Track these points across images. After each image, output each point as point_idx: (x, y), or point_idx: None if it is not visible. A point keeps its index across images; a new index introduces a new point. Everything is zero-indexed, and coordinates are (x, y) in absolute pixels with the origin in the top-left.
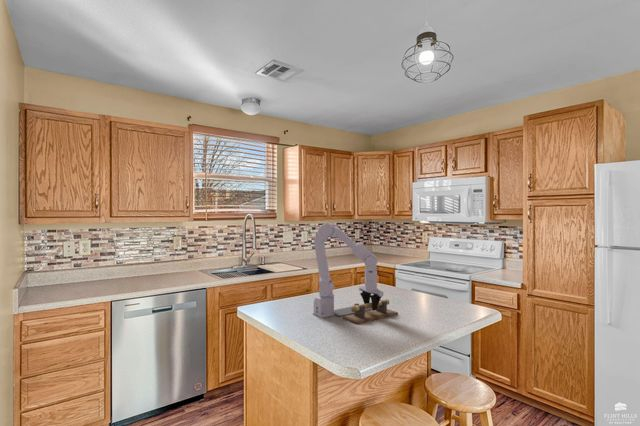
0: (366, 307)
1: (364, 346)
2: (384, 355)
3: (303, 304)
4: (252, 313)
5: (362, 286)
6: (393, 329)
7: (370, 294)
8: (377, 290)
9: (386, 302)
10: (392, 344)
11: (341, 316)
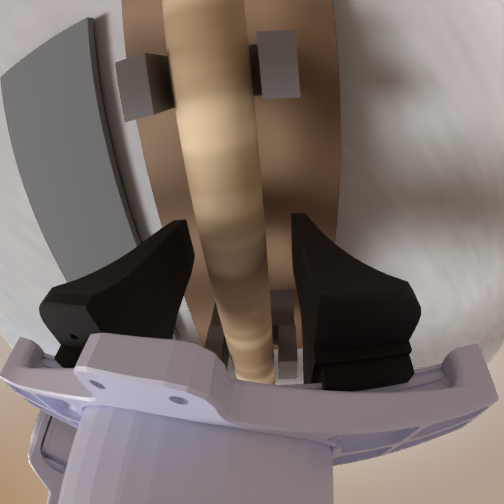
0: (270, 315)
1: None
2: (487, 358)
3: (18, 321)
4: None
5: (8, 382)
6: (478, 243)
7: (116, 293)
8: (331, 421)
9: (294, 40)
10: (496, 324)
11: (175, 329)
